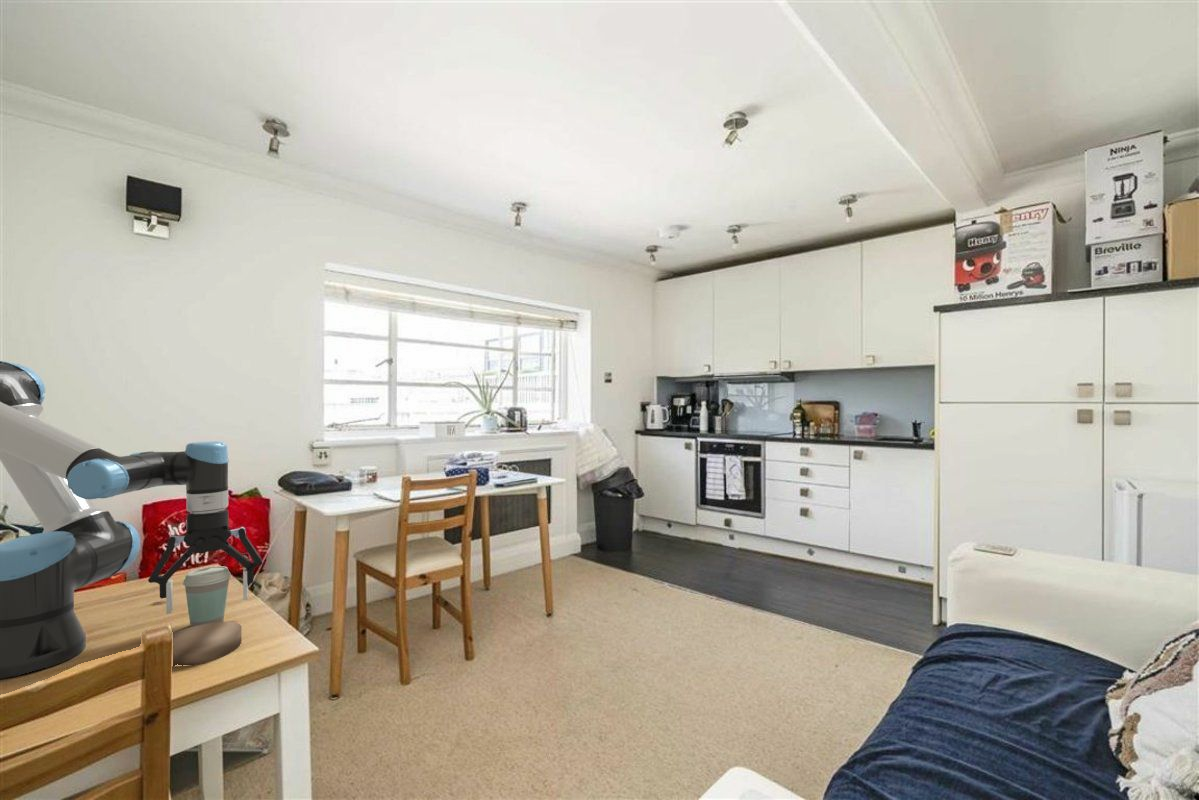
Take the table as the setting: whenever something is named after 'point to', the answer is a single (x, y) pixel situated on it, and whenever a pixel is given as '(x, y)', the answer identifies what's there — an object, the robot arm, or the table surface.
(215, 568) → the coffee cup
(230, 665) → the table surface
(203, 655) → the walnut stand
